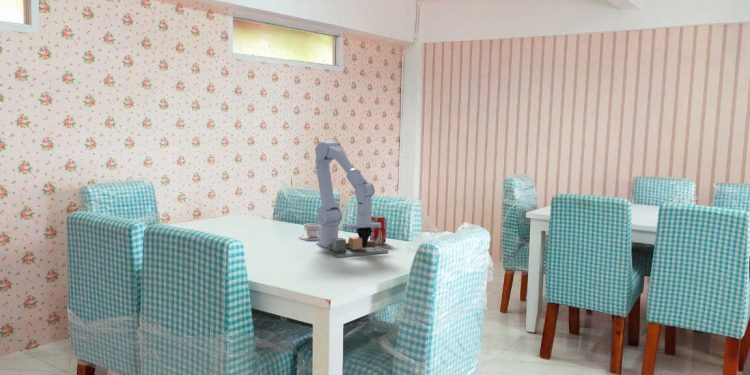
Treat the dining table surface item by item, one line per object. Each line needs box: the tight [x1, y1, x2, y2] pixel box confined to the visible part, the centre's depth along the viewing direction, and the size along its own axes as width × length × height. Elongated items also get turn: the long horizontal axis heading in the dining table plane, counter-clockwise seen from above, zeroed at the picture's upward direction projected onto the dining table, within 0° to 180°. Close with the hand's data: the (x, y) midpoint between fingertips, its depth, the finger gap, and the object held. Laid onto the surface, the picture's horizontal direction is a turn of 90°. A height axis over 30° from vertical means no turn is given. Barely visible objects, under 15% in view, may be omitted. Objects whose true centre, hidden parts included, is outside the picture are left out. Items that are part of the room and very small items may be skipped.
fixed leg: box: [332, 237, 347, 253], centre depth 255 cm, size 7×4×5 cm, turn 27°
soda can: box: [369, 214, 387, 246], centre depth 276 cm, size 7×7×12 cm
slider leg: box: [347, 236, 362, 251], centre depth 258 cm, size 7×4×5 cm, turn 27°
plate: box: [325, 245, 389, 258], centre depth 258 cm, size 12×22×1 cm, turn 117°
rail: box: [328, 240, 375, 250], centre depth 262 cm, size 2×20×2 cm, turn 117°
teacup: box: [298, 222, 320, 241], centre depth 287 cm, size 12×12×6 cm
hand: (363, 246), depth 259 cm, fingers closed
